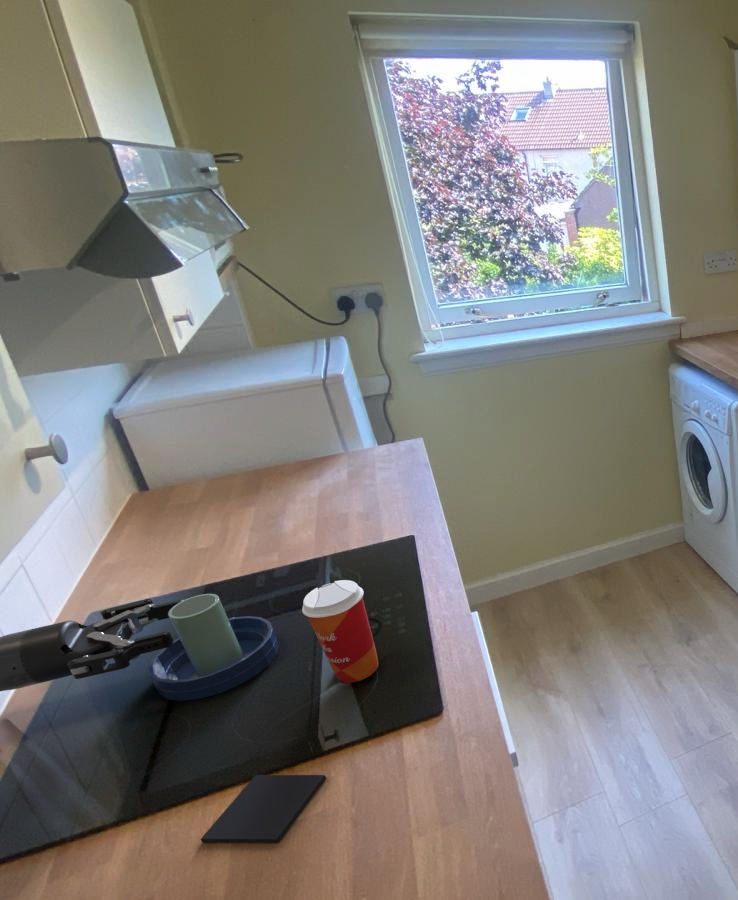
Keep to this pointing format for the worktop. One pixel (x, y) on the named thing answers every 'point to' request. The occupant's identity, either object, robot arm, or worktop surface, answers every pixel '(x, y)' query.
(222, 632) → the cup
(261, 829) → the mat
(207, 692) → the bowl
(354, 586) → the paper cup
